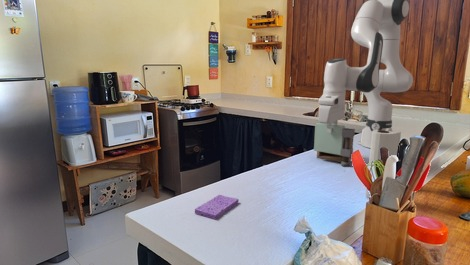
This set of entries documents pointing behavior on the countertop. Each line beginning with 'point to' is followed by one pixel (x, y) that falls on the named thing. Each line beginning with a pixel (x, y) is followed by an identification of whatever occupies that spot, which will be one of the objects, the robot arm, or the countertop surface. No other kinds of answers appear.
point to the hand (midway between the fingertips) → (331, 131)
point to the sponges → (216, 206)
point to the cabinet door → (332, 139)
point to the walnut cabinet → (334, 157)
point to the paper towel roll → (383, 145)
